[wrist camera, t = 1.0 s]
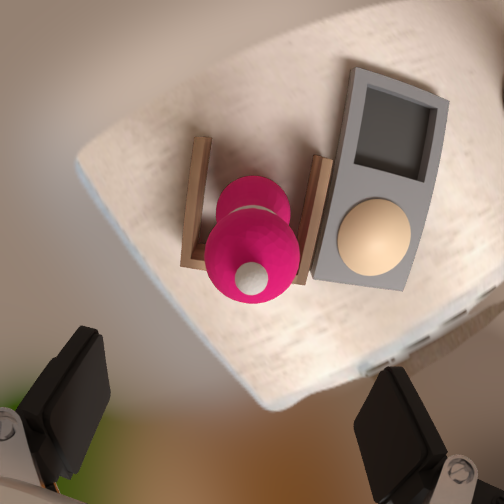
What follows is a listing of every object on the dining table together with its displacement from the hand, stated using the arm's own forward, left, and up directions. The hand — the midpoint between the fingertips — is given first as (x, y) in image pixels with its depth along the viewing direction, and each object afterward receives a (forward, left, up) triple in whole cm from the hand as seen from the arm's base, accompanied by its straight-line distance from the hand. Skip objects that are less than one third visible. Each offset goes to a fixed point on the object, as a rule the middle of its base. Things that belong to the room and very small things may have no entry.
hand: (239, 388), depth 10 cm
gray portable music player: (-14, -5, -27) cm, 31 cm away
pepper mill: (0, 0, -27) cm, 27 cm away
